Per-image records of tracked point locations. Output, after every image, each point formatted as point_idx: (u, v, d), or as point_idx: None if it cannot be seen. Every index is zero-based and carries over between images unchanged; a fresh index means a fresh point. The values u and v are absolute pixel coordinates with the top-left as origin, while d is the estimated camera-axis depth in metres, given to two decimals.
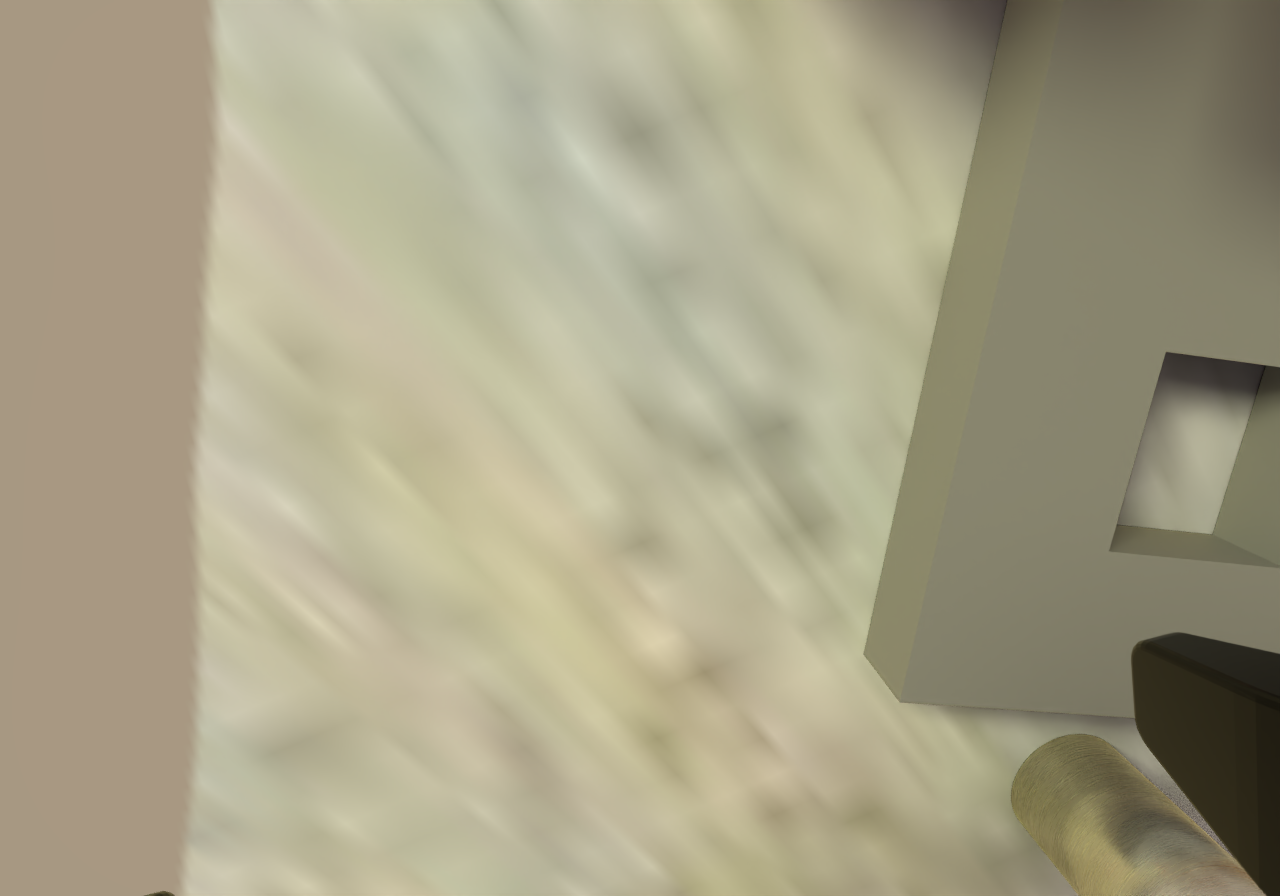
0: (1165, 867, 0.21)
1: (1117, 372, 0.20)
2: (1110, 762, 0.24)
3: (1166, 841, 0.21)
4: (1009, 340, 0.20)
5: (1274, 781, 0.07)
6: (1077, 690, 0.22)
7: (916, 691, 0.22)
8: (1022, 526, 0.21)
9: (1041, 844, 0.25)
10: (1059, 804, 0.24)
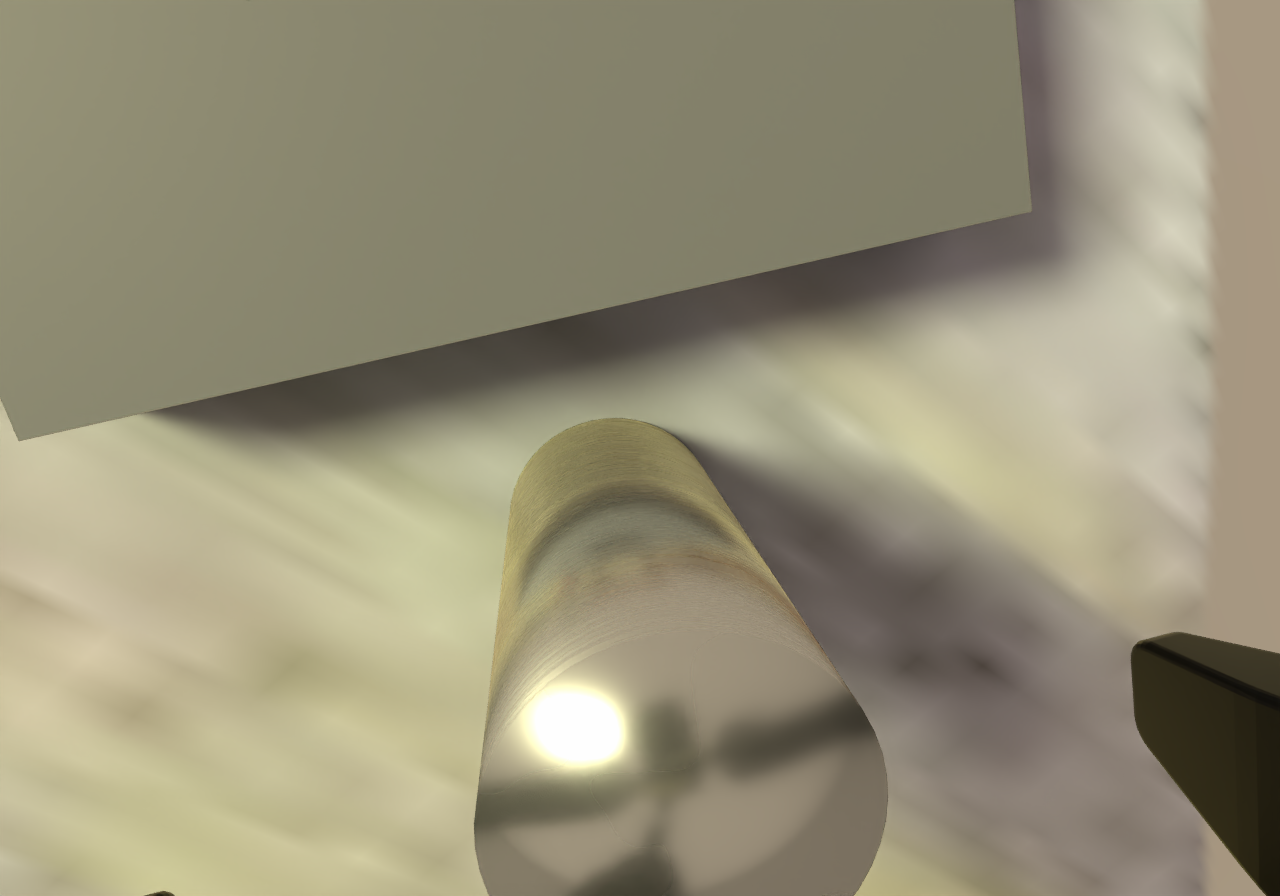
0: (526, 573, 0.10)
1: None
2: (591, 442, 0.13)
3: (555, 528, 0.10)
4: None
5: (1274, 781, 0.07)
6: (360, 311, 0.11)
7: (37, 410, 0.11)
8: (29, 4, 0.10)
9: None
10: (506, 542, 0.13)
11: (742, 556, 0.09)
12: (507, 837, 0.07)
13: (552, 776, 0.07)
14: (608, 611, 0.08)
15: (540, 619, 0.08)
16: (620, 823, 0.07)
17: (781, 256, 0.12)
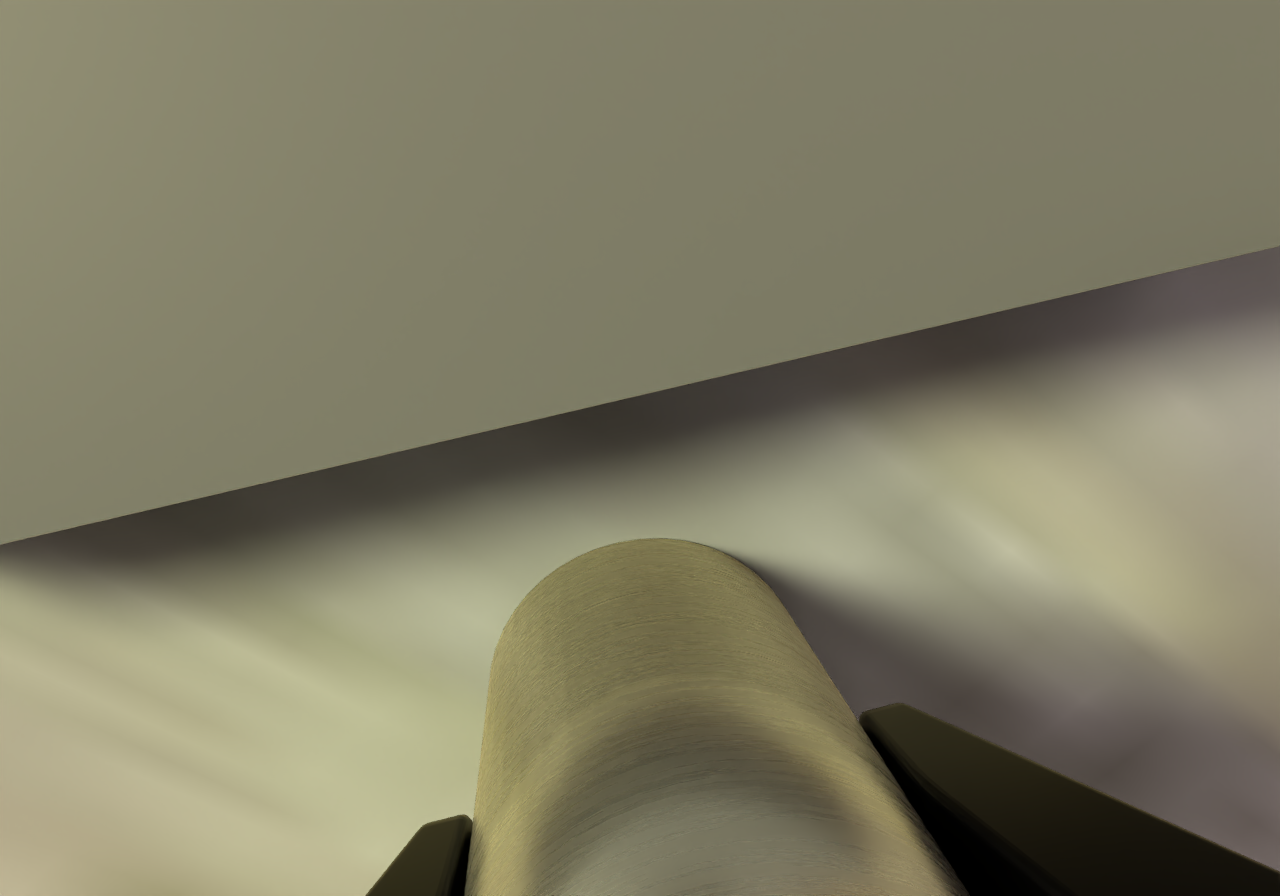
0: None
1: None
2: (620, 598, 0.08)
3: (565, 868, 0.05)
4: None
5: None
6: (198, 402, 0.06)
7: None
8: None
9: None
10: None
11: None
12: None
13: None
14: None
15: None
16: None
17: (972, 297, 0.06)
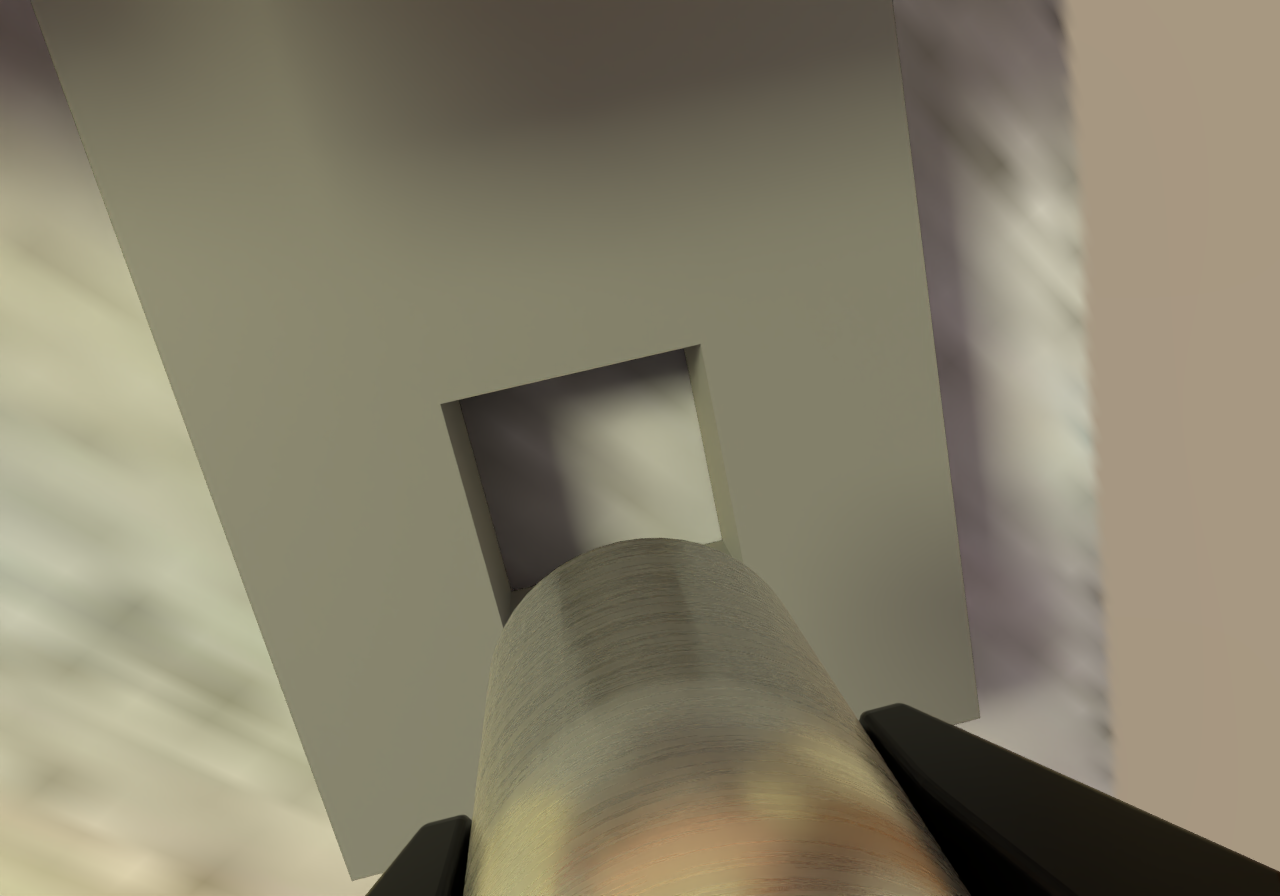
0: None
1: (392, 448, 0.16)
2: (620, 598, 0.08)
3: (565, 867, 0.05)
4: (235, 463, 0.16)
5: None
6: None
7: (364, 863, 0.18)
8: (381, 652, 0.17)
9: None
10: None
11: None
12: None
13: None
14: None
15: None
16: None
17: None
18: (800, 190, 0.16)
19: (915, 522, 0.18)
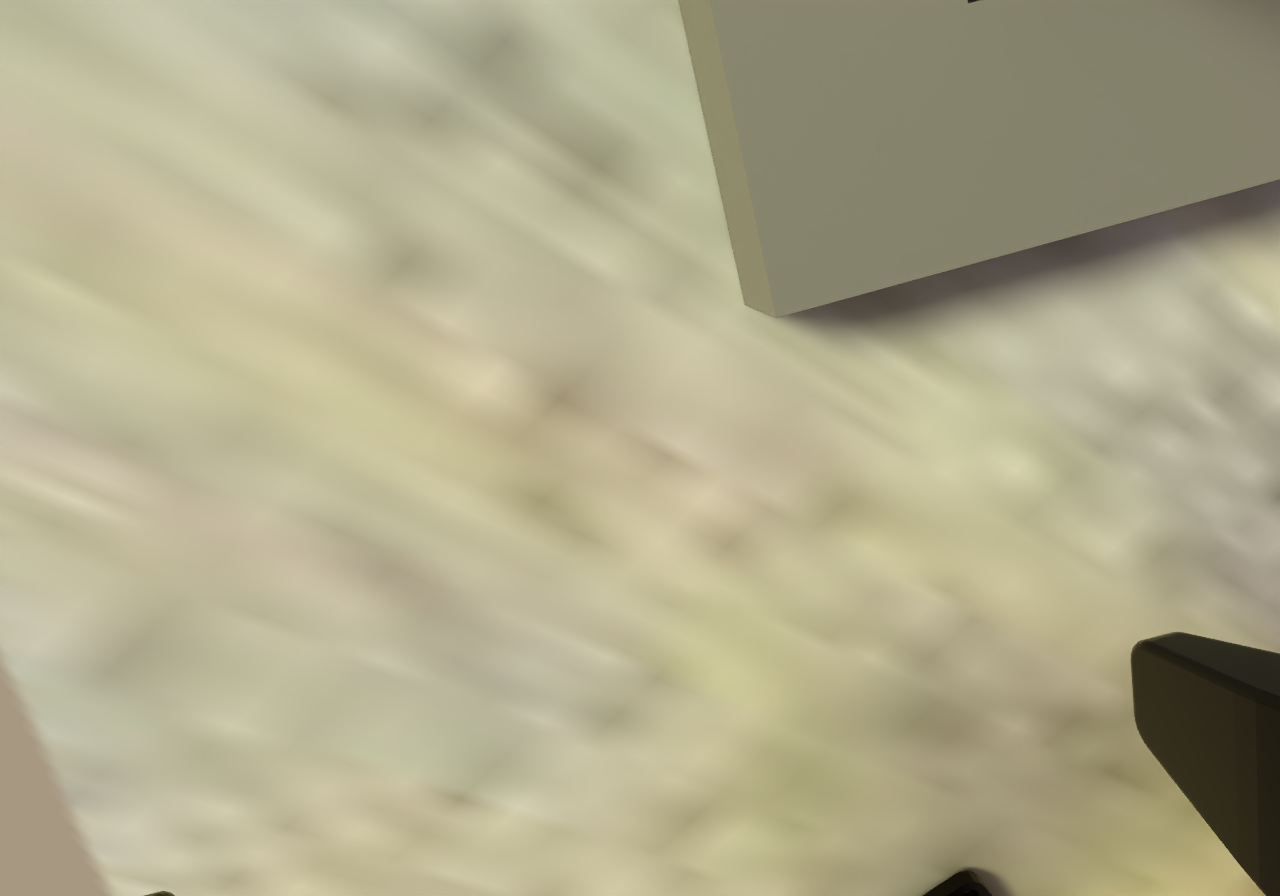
0: None
1: None
2: None
3: None
4: None
5: (1274, 781, 0.07)
6: (1007, 217, 0.16)
7: (791, 295, 0.16)
8: (832, 11, 0.15)
9: None
10: None
11: None
12: None
13: None
14: None
15: None
16: None
17: None
18: None
19: None
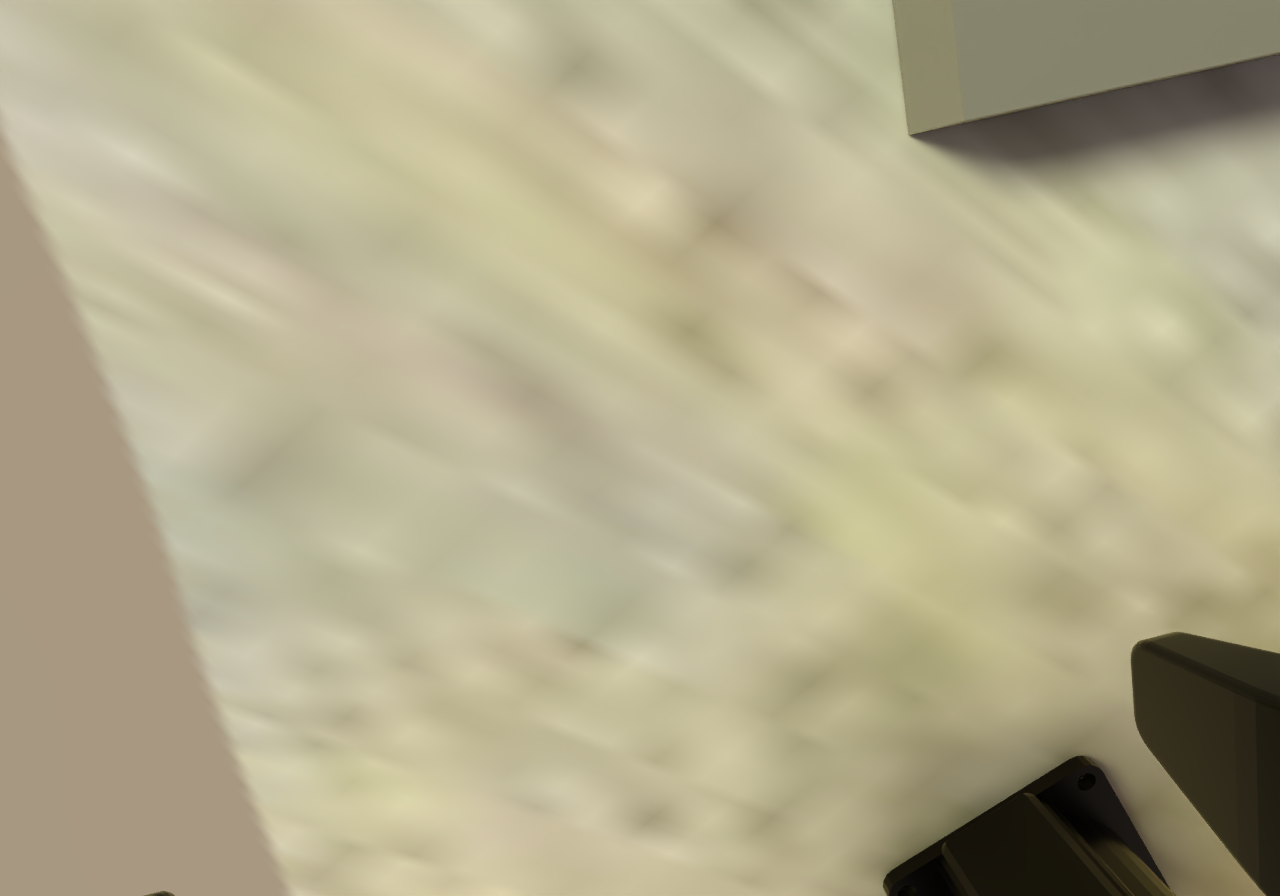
0: None
1: None
2: None
3: None
4: None
5: (1274, 781, 0.07)
6: (1200, 31, 0.16)
7: (981, 97, 0.16)
8: None
9: None
10: None
11: None
12: None
13: None
14: None
15: None
16: None
17: None
18: None
19: None
